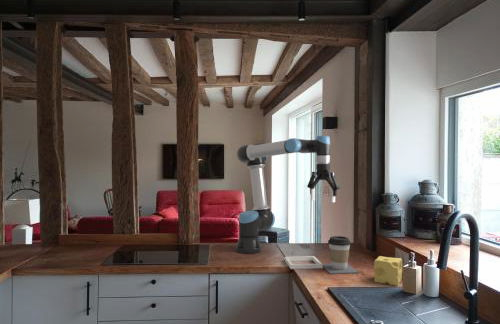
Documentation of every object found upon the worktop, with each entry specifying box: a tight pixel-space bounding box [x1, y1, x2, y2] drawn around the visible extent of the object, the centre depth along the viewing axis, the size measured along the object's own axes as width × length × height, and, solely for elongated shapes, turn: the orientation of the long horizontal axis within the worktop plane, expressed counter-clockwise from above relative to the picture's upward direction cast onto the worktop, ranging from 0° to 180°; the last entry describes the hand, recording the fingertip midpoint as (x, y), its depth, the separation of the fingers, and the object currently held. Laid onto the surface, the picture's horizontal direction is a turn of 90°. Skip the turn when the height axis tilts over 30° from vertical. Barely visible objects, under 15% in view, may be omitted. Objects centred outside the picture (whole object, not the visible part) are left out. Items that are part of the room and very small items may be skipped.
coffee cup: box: [327, 235, 352, 270], centre depth 186 cm, size 11×11×15 cm
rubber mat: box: [322, 263, 359, 275], centre depth 186 cm, size 16×14×1 cm
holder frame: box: [284, 255, 324, 270], centre depth 195 cm, size 16×16×2 cm
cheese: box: [373, 255, 403, 287], centre depth 168 cm, size 10×11×10 cm
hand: (322, 201), depth 208 cm, fingers open, 13 cm apart
